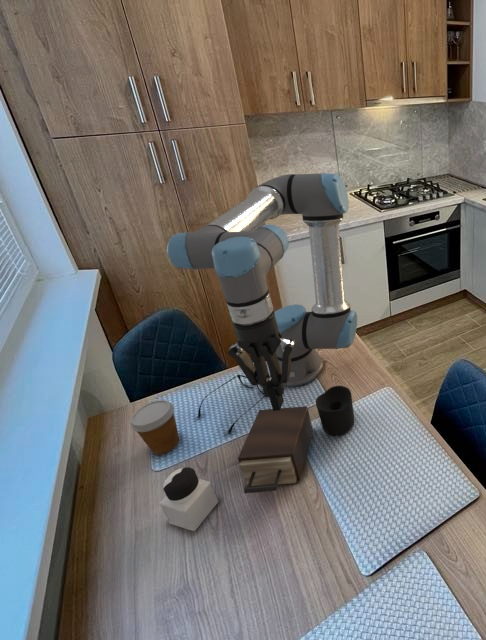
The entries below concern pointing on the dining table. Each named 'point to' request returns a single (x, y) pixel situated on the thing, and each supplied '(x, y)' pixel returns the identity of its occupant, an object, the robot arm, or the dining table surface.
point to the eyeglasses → (224, 384)
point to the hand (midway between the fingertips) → (278, 405)
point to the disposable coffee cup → (156, 426)
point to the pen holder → (336, 410)
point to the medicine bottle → (187, 499)
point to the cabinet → (280, 436)
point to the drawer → (267, 473)
